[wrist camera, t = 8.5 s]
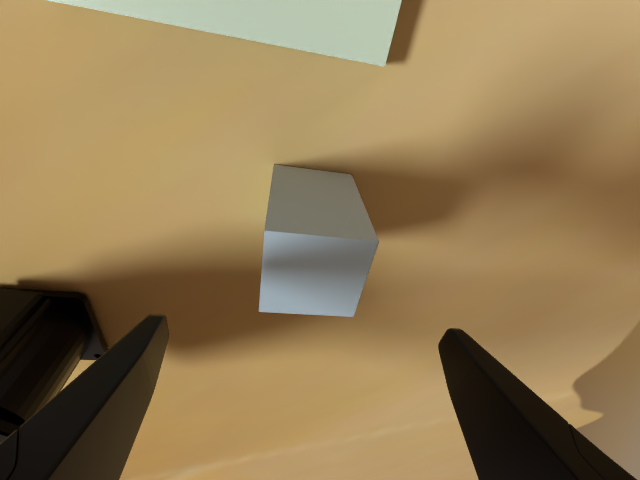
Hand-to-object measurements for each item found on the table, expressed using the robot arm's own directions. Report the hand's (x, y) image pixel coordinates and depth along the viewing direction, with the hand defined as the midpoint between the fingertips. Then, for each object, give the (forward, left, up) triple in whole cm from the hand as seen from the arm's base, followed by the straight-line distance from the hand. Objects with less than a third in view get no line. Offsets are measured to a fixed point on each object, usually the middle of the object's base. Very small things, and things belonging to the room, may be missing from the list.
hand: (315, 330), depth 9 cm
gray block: (0, 0, -8) cm, 8 cm away
